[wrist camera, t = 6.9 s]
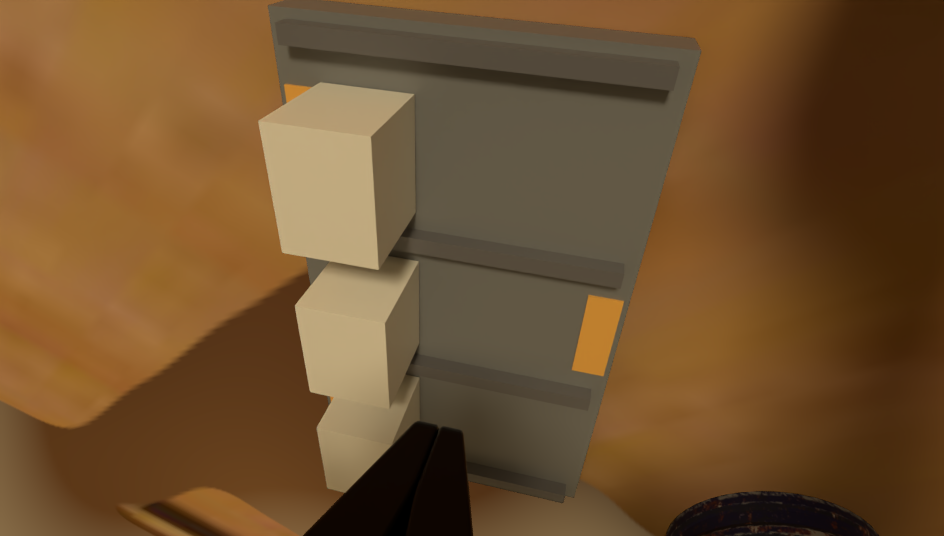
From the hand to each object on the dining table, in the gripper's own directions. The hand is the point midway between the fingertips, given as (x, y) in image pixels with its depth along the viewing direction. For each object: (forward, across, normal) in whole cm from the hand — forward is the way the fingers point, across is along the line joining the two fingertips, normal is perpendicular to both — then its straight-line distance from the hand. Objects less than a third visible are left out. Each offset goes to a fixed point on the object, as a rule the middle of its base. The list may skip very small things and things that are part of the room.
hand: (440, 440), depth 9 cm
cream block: (+10, +5, +11) cm, 16 cm away
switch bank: (+11, +2, +5) cm, 13 cm away
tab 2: (+10, +5, +5) cm, 12 cm away
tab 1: (+10, +5, -1) cm, 11 cm away
